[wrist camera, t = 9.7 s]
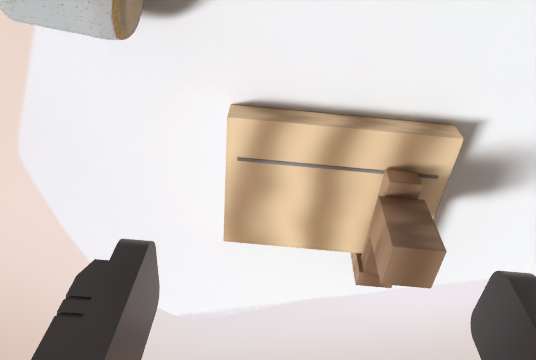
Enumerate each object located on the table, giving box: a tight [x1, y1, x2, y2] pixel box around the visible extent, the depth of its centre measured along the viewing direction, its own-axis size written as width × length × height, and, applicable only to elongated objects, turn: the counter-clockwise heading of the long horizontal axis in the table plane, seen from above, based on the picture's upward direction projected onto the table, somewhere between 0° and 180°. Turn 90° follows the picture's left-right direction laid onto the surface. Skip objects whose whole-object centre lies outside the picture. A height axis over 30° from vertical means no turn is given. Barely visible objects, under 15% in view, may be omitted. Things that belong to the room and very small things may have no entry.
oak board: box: [224, 105, 464, 253], centre depth 42 cm, size 20×14×3 cm
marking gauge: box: [351, 169, 446, 288], centre depth 40 cm, size 4×13×11 cm, turn 175°
